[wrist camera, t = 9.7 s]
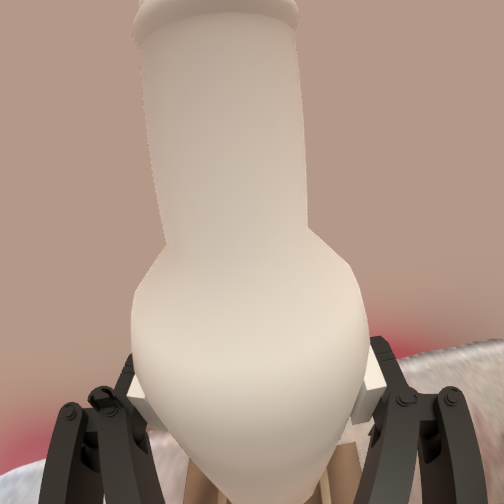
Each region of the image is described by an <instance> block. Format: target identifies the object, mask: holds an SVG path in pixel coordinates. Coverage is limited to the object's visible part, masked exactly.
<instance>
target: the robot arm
mask: <svg viewBox="0 0 504 504" xmlns="http://www.w3.org/2000/svg"><path fill="white" fill-rule="evenodd" d="M88 402H89V403H90V404H91V406H92V407H93V408H84V409H83V408H82V407H81V406H80V405H79V404H78V403H75V402H69V403H67V404H65V405H64V406H63V407H62V408H61V409H60V411H59V414H58V417H57V421H56V424H55V427H54V431H53V434H52V438H51V442H50V446H49V450H48V454H47V458H46V463H45V467H44V472H43V477H42V483H41V489H40V495H39V502H38V504H103V498H104V495H105V501H106V504H165V501H164V497H163V494H162V491H161V487H160V484H159V480H158V476H157V472H156V468H155V464H154V460H153V455H152V451H151V446H150V441H149V436H148V434H147V432H146V431H145V430H146V426H147V424H148V425H149V426H150V428H151V429H153V430H160V431H168V429H167V428H166V427H165V425H164V424H163V423H162V421H161V420H160V418H159V417H158V416H157V414H156V413H155V411H154V410H153V408H152V407H151V405H150V404H149V402H148V400H147V398H146V396H145V394H144V392H143V390H142V388H141V385H140V383H139V381H138V379H137V376H136V374H135V372H134V365H133V357H132V353H131V354H130V355H129V356H128V358H127V361H126V363H125V367H123V370H122V373H121V374H120V377H119V379H118V381H117V384H116V386H115V389H114V390H113V389H112V388H111V387H108V386H100V387H98V388H95V389H94V390H93V391H91V393H90V394H89V396H88ZM372 415H373V419H374V422H375V424H374V425H373V427H372V429H371V430H370V432H369V434H368V436H371V438H370V443H369V447H368V452H367V456H366V460H365V464H364V468H363V472H362V476H361V479H360V483H359V486H358V489H357V493H356V496H355V499H354V502H353V504H408V502H409V497H410V492H411V487H412V482H413V476H414V470H415V464H416V456H417V450H418V457H419V465H420V475H421V486H422V502H423V504H488V500H487V491H486V483H485V476H484V470H483V465H482V460H481V455H480V450H479V446H478V442H477V438H476V434H475V430H474V426H473V423H472V419H471V416H470V412H469V409H468V406H467V403H466V400H465V397H464V395H463V393H462V391H461V390H459V389H458V388H456V387H453V386H447V387H445V388H443V389H442V390H441V391H440V392H439V394H421V393H418V392H417V391H416V390H415V389H413V388H412V387H409V386H408V384H407V382H406V380H405V378H404V375H403V373H402V371H401V369H400V367H399V364H398V362H397V360H396V359H395V356H394V354H393V353H392V350H391V348H390V345H389V343H388V342H387V341H386V340H385V339H384V338H383V337H381V336H375V337H370V348H369V354H368V361H367V366H366V372H365V376H364V379H363V382H362V385H361V388H360V391H359V393H358V396H357V399H356V401H355V404H354V407H353V409H352V412H351V414H350V417H351V421H352V425H355V424H360V423H365V422H369V421H370V419H371V417H372Z"/></svg>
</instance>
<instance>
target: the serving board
mask: <svg viewBox="0 0 504 504" xmlns="http://www.w3.org/2000/svg"><path fill="white" fill-rule="evenodd" d="M361 476H362V472H361V467H360V462H359V457H358V452H357V448H356V443H355V442H352V443H347V444H342V445H337V446H336V448H335V450H334V453H333V455H332V457H331V459H330V461H329V463H328V465H327V467H326V468H325V470H324V472H323V474H322V476H321V478H320V480H319V481H318V483H317V485H316V488H315V490H314V492H313V495H312V496H311V497H310V498H309V499H308V500H307V501H306V502H305V503H304V504H353V502H354V499H355V496H356V493H357V489H358V486H359V483H360V479H361ZM183 504H232V503H231V502H230V501H229V499H228V498H227V497H226V496H225V495H224V494H223V493H222V492H221V491H220V490H219V489H218V488H217V487H216V486H215V485H214V484H213V483H212V482H211V481H210V480H209V479H208V477H207V476H206V475H205V474H204V473H203V472H202V471H201V470H200V469H199V468H198V466H197V465H196V464H195V463H194V462H193V461H192V460H191V458H189V465H188V471H187V478H186V485H185V492H184V500H183Z"/></svg>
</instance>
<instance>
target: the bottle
mask: <svg viewBox="0 0 504 504" xmlns="http://www.w3.org/2000/svg"><path fill="white" fill-rule="evenodd" d="M298 21H299V13H298V7H297V4H296V3H295V2H294V1H293V0H139V11H138V13H137V15H136V17H135V19H134V21H133V23H132V36H133V38H134V41H135V43H136V45H137V47H138V49H139V50H140V69H141V83H142V95H143V106H144V115H145V124H146V132H147V139H148V147H149V154H150V160H151V167H152V173H153V179H154V185H155V190H156V196H157V201H158V206H159V212H160V217H161V221H162V226H163V231H164V235H165V240H166V245H165V247H164V248H163V250H162V251H161V253H160V254H159V256H158V257H157V259H156V260H155V262H154V263H153V265H152V266H151V268H150V269H149V271H148V272H147V274H146V275H145V277H144V278H143V280H142V281H141V283H140V284H139V286H138V288H137V289H136V291H135V294H134V299H133V305H132V311H131V348H132V357H133V365H134V372H135V374H136V376H137V379H138V381H139V383H140V385H141V388H142V390H143V392H144V394H145V396H146V398H147V400H148V402H149V404H150V405H151V407H152V408H153V410H154V411H155V413H156V414H157V416H158V417H159V418H160V420H161V421H162V423H163V424H164V425H165V427H166V428H167V429H168V431H169V432H170V433H171V435H172V436H173V437H174V439H175V440H176V441H177V442H178V444H179V445H180V446H181V447H182V449H183V450H184V451H185V452H186V454H187V455H188V456H189V457H190V458H191V460H192V461H193V462H194V463H195V464H196V465H197V466H198V468H199V469H200V470H201V471H202V472H203V473H204V474H205V475H206V476H207V477H208V479H209V480H210V481H211V482H212V483H213V484H214V485H215V486H216V487H217V488H218V489H219V490H220V491H221V492H222V493H223V494H224V495H225V496H226V497H227V498H228V499H229V501H230V502H231V503H232V504H304V503H305V502H306V501H307V500H308V499H309V498H310V497H311V496H312V495H313V492H314V490H315V488H316V485H317V483H318V481H319V480H320V478H321V476H322V474H323V472H324V470H325V468H326V467H327V465H328V463H329V461H330V459H331V457H332V455H333V453H334V450H335V448H336V446H337V444H338V442H339V440H340V438H341V435H342V433H343V431H344V429H345V426H346V424H347V421H348V419H349V417H350V414H351V412H352V409H353V407H354V404H355V401H356V399H357V396H358V393H359V391H360V388H361V385H362V382H363V379H364V376H365V372H366V366H367V361H368V354H369V348H370V336H369V328H368V322H367V316H366V312H365V308H364V304H363V300H362V296H361V292H360V289H359V285H358V283H357V281H356V279H355V276H354V274H353V272H352V270H351V268H350V266H349V265H348V264H347V263H346V262H345V261H344V260H343V259H342V258H341V257H340V256H339V255H338V254H336V253H335V252H334V251H333V250H332V249H331V248H330V247H329V246H328V245H327V244H326V243H325V242H323V241H322V240H321V239H320V238H319V237H318V236H317V235H316V234H315V233H313V232H312V231H311V230H310V229H309V228H308V222H307V221H308V220H307V180H306V157H305V156H306V155H305V137H304V122H303V108H302V96H301V86H300V75H299V66H298V57H297V48H296V40H295V31H296V28H297V25H298Z"/></svg>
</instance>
